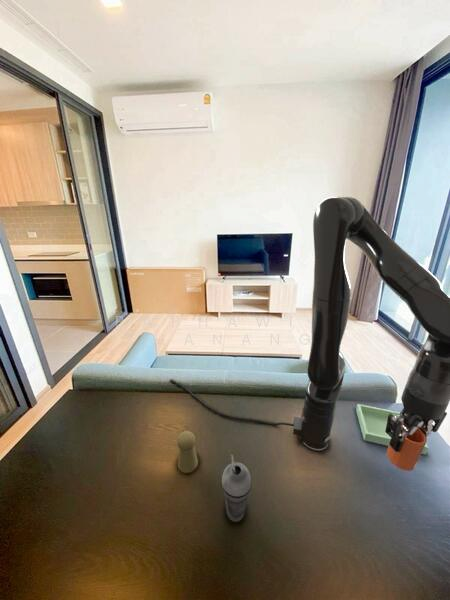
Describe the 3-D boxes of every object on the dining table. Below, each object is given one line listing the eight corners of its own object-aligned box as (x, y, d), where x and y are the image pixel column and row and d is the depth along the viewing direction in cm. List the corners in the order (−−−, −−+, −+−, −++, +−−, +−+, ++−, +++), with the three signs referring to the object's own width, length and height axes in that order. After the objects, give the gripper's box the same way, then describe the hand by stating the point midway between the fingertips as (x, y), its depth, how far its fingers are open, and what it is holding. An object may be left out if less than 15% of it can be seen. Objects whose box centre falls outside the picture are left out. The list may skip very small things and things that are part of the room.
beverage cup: (248, 532, 58) (251, 475, 51) (218, 524, 60) (217, 468, 53) (251, 498, 65) (254, 444, 58) (224, 492, 66) (224, 439, 59)
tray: (363, 440, 82) (365, 433, 81) (356, 410, 94) (357, 403, 93) (425, 454, 77) (428, 447, 76) (408, 421, 89) (411, 414, 88)
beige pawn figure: (201, 458, 76) (200, 432, 72) (191, 476, 70) (189, 449, 67) (185, 450, 78) (183, 424, 74) (173, 467, 73) (171, 440, 69)
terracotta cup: (390, 466, 59) (400, 439, 55) (383, 445, 64) (392, 419, 61) (419, 474, 57) (431, 447, 54) (409, 451, 62) (420, 425, 59)
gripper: (436, 375, 58) (415, 427, 64) (385, 383, 55) (368, 437, 61) (472, 397, 51) (445, 454, 57) (416, 409, 48) (394, 467, 54)
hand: (405, 445), depth 59 cm, fingers closed on terracotta cup, 6 cm apart
